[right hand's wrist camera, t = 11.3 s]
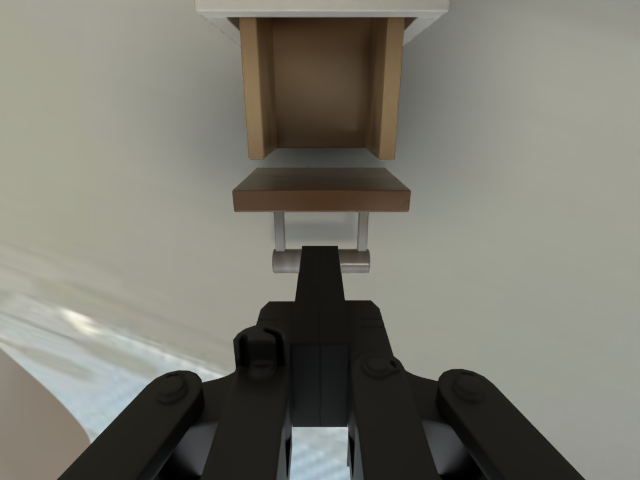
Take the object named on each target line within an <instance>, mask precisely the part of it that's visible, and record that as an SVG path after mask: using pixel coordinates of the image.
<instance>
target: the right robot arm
mask: <svg viewBox="0 0 640 480" xmlns="http://www.w3.org/2000/svg"><path fill="white" fill-rule="evenodd" d="M233 343H234V353H235V363H236V370H235V372H234V373H232V374H230V375H228V376H225V377H222V378H219V379H215V380H211V381H207V382H203V383H202V380H201V378H200V377H199V376H198V375H197V374H196V373H193V372H191V371H181V370H178V371H174V372H169V373H166V374H164V375H162V376H160V377H158V378H156V379H155V380H153V381H152V382H151V383H150V384H148V385H147V386H146V387H145V388H144V389H143V390H142V391H141V392H140V393H139V395H138V396H137V397H136V398H135V399H134V400H133V401H132V402H131V403H130V404H129V405H128V406H127V407H126V408H125V409H124V410H123V411H122V412H121V413H120V414H119V415H118V416H117V418H116V419H115V420H114V421H113V422H112V423H111V424H110V425H109V426H108V427H107V428H106V429H105V430H104V431H103V432H102V433H101V434H100V435H99V436H98V437H97V438H96V439H95V441H94V442H93V443H92V444H91V445H90V446H89V447H88V448H87V449H86V450H85V451H84V452H83V453H82V454H81V455H80V456H79V457H78V458H77V459H76V460H75V461H74V462H73V464H72V465H71V466H70V467H69V468H68V469H67V470H66V471H65V472H64V473H63V474H62V475H61V476H60V477H59V478H58V479H57V480H289V478H290V466H291V453H292V425H293V427H347V425H348V455H347V466H350V478H351V480H585V479H584V478H583V477H582V476H581V475H580V474H579V473H578V472H577V471H576V469H575V468H574V467H573V466H572V465H571V464H570V463H569V462H568V461H567V460H566V459H565V458H564V457H563V456H562V455H561V454H560V453H559V452H558V451H557V450H556V449H555V448H554V447H553V446H552V445H551V444H550V442H549V441H548V440H547V439H546V438H545V437H544V436H543V435H542V434H541V433H540V432H539V431H538V430H537V429H536V428H535V427H534V426H533V425H532V424H531V423H530V422H529V421H528V420H527V419H526V418H525V417H524V415H523V414H522V413H521V412H520V411H519V410H518V409H517V408H516V407H515V406H514V405H513V404H512V403H511V402H510V401H509V400H508V399H507V398H506V397H505V396H504V395H503V394H502V393H501V392H500V391H499V389H498V388H497V387H496V386H495V385H494V384H493V383H491V382H490V381H489V380H488V379H486V378H485V377H484V376H482V375H479V374H477V373H475V372H473V371H469V370H464V369H451V370H448V371H446V372H443V374H442V375H441V376H440V377H439V380H438V381H435V380H430V379H426V378H422V377H419V376H416V375H413V374H411V373H409V372H407V371H406V370H405V369H404V367H403V365H402V364H401V362H400V361H399V360H398V359H397V358H395V357H394V356H393V353H392V349H391V346H390V343H389V339H388V336H387V333H386V329H385V327H384V323H383V320H382V316H381V313H380V309H379V308H378V307H377V306H376V305H375V304H374V303H373V302H372V301H371V300H345V298H344V290H343V283H342V275H341V267H340V260H339V252H338V246H302V252H301V260H300V267H299V275H298V283H297V290H296V298H295V301H269V302H268V303H267V304H266V305H265V306H264V307H263V308H262V309H261V311H260V314H259V317H258V321H257V324H256V326H252V327H249V328H246V329H244V330H243V331H241V332H240V333H238V334H237V336H236V337H235V338H234V340H233Z"/></svg>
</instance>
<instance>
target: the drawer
mask: <svg viewBox="0 0 640 480" xmlns="http://www.w3.org/2000/svg"><path fill="white" fill-rule="evenodd" d="M404 24H405V17H239V26H240V40H241V54H242V68H243V83H244V97H245V111H246V125H247V140H248V154H249V159H264V158H265V157H267V156H268V155H269V154H270V153H271V152H272V151H274V150H275V149H276V148H366V149H368V150H369V151H370V152H371V153H372V154H374V155H375V156H376V157H377V158H379V159H394V158H395V145H396V132H397V118H398V105H399V91H400V78H401V64H402V51H403V37H404ZM232 193H233V204H234V211H235V212H274V224H275V244H276V249H274V251H273V258H272V266H273V272H274V273H299V267H300V260H301V252H302V249H285V223H284V212H358V236H357V249H338V252H339V260H340V267H341V273H369V270H370V253H369V250H368V249H367V234H368V214H369V212H408V211H409V205H410V195H411V191H410V190H409V189H408V188H407V187H406V186H405V185H404V184H403V183H401V182H400V181H399V180H398V179H397V178H396V177H395V176H393V175H392V174H391V173H390V172H389V171H388V170H387V169H386V168H257V169H256V170H255V171H253V172H252V173H251V174H250V175H249V176H248V177H247V178H246V179H245V180H244V181H243V182H241V183H240V184H239V185H238V186H237V187H236V188H235V189H234V190H233V191H232Z"/></svg>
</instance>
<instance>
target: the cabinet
mask: <svg viewBox="0 0 640 480" xmlns="http://www.w3.org/2000/svg"><path fill="white" fill-rule="evenodd" d="M194 3H195V10H196V12H198V13H199V14H200V15H201V16H203V17H204V18H205V19H206V20H208V21H209V22H210V23H211V24H213V25H214V26H215V27H216V28H218V29H219V30H220V31H221V32H222V33H224V34H225V35H226V36H227V37H229V38H230V39H231V40H232V41H234V42H235V43H236V44H237V45H239V46H240V47H241V40H240V26H239V17H405V24H404V37H403V46H404V45H405V44H407V43H408V42H409V41H411V40H412V39H413V38H414V37H416V36H417V35H418V34H420V33H421V32H422V31H424V30H425V29H426V28H427V27H429V26H430V25H431V24H433V23H434V22H435V21H436V20H438V19H439V18H440V17H441V16H443V15H444V14H445V13H446V12H448V10H449V4H450V0H194Z"/></svg>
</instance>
